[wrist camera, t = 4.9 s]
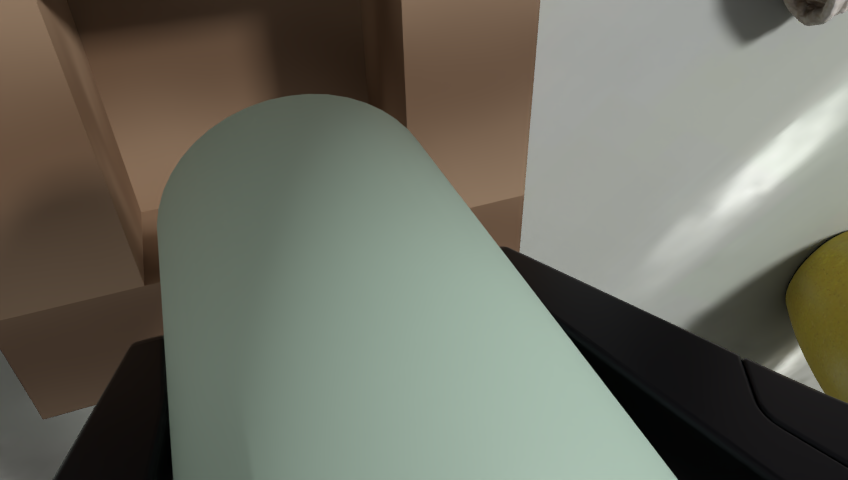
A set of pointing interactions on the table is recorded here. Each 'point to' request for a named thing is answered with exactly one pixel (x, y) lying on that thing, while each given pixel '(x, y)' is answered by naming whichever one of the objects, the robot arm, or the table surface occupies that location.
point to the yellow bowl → (823, 314)
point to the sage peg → (361, 318)
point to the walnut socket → (191, 118)
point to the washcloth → (815, 10)
